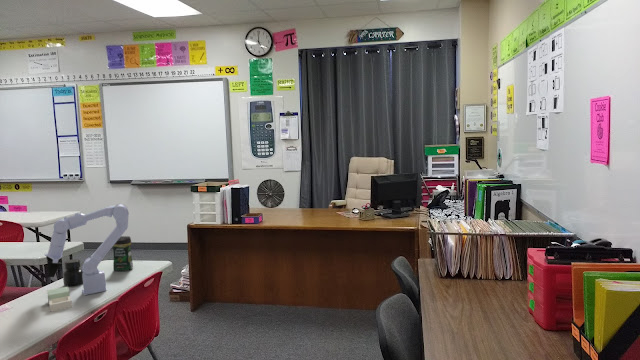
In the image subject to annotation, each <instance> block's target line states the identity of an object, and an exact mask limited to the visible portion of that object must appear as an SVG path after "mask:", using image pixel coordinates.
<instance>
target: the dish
mask: <svg viewBox="0 0 640 360" xmlns="http://www.w3.org/2000/svg"><path fill="white" fill-rule="evenodd" d="M72 304H73V303H72V298H71V296H66V297H61V298H56V299H51V300H49V302H48V306H49V313H50V312H56V311H62V310H66V309H71V308H73V305H72Z"/></svg>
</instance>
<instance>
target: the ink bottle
mask: <svg viewBox="0 0 640 360" xmlns="http://www.w3.org/2000/svg"><path fill="white" fill-rule="evenodd" d="M63 263H64V271H63V272H62V280H63V286H64V287H68V288H73V287H78V286H81V285H83V277H82V273H83V271H82V267H81V260H80V259H79V258H74V259H67V260H65V261H64V262H63Z"/></svg>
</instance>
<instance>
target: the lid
mask: <svg viewBox="0 0 640 360" xmlns="http://www.w3.org/2000/svg"><path fill="white" fill-rule="evenodd" d="M46 294H47V300H48V299H49V300H51V299H56V298H61V297H66V296H70V290H69V287H66V286H64V287H57V288H54V289H47V293H46ZM70 297H71V296H70Z"/></svg>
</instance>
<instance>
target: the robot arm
mask: <svg viewBox="0 0 640 360" xmlns="http://www.w3.org/2000/svg"><path fill="white" fill-rule="evenodd" d="M112 216H113V218H114V219H115V224H116V226H115V227H114V229H113V230H112V231H111V232H110V234H108V236H106V238H105V239H104V240H103V242H102V243H101V244H100V245H99V246H98V247H97V249H96V250H95V251H94V253H92V254H91V256H88V257H86V259H84V262H83V263H82V266H81V269H82V271H83V273H82V277H83V284H82V286H83V287H82V288H83V289H82V290H81V291H82V294H83V296H86V295H87V296H88V295H92V294H96V293H97V294H98V293H101V292H106V291H107V282H106V275H105V271H104V270H99V268H98V266H99V265H100V264H101V262H102V261H103V259H104V258H105V257H106V255H107V254H108V253H109V252H110V251H111V249H113V245H114V244H115V243H116V242H117V241H118V239H119V238H120V237H121V236H123V234H125V232H126V231H127V230H128V227H129V210H128V207H127V206H126V205H125V204H123V203H118V204H116V205H114V204H113V205H108V206H106V207H103V208H100V209H97V210H95V211H92V212H89V213H83V212H80V213H79V212H76V213H74V214H73V215H70V216H68V217H67V216H65V217H63V218H61V219H58V220H56V222H54V225H53V232H52V236H51V239H50V243H49V247H48V248H49V249H48V252H47V253H44V256H45V257H46V260H47V261H46V262H47V267H46V268H47V274H48V275H47V276H48V277H49V278H54V277H55V276H56V273H57V271H58V269H59V268H60V267H61V266H62V262H61V261H60V262H59V260H60V259H62V258H63V256H64V255H63V254H64V253H63V252H64V249H65V244H66V240H67V233H68V230H73V229H77V228H79V227H82V226H85V225H86V224H87V223H88V222H89V221H92V220H94V219H100V218H103V217H109V218H112Z"/></svg>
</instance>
